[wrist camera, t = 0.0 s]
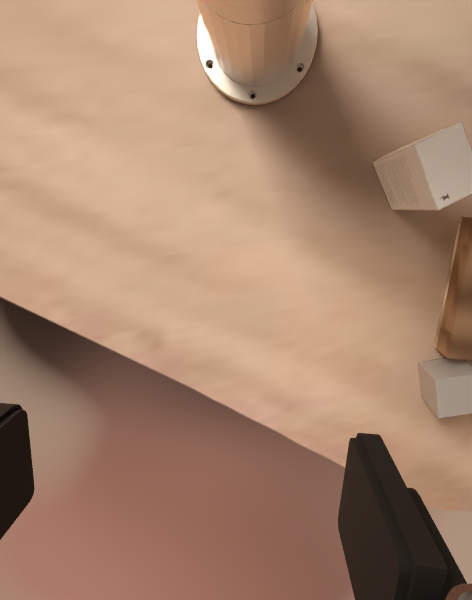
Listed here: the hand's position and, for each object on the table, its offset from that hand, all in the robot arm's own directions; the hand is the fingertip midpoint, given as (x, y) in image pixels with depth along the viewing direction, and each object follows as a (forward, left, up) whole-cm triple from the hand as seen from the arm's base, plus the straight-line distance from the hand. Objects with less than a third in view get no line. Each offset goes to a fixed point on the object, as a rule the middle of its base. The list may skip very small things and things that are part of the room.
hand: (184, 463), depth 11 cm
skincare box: (-11, +17, -37) cm, 42 cm away
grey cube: (+13, +26, -37) cm, 47 cm away
